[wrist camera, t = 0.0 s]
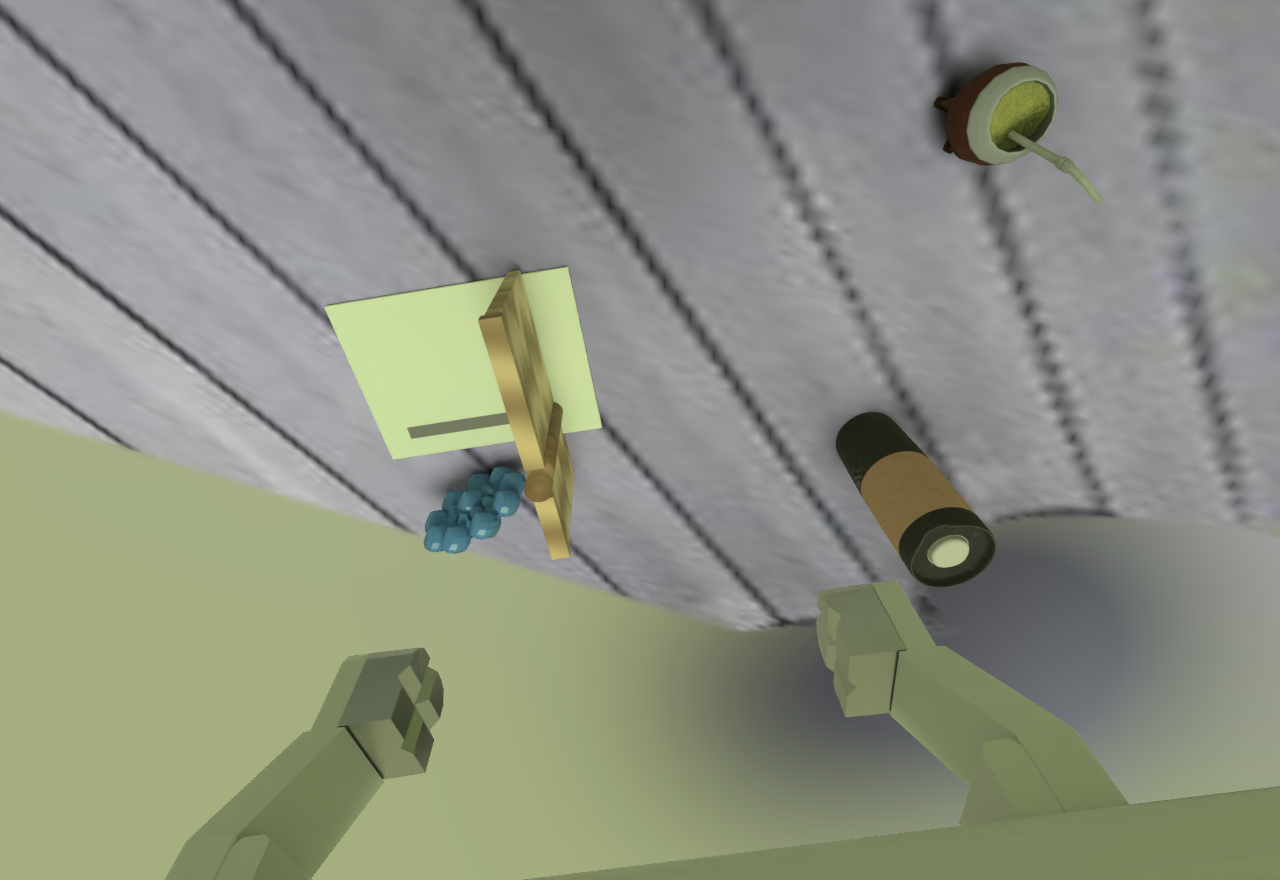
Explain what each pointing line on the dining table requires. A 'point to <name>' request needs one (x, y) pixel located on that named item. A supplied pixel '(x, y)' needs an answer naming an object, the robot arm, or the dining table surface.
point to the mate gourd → (1006, 119)
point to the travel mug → (914, 503)
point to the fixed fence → (554, 488)
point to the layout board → (458, 362)
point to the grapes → (474, 510)
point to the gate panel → (519, 368)
